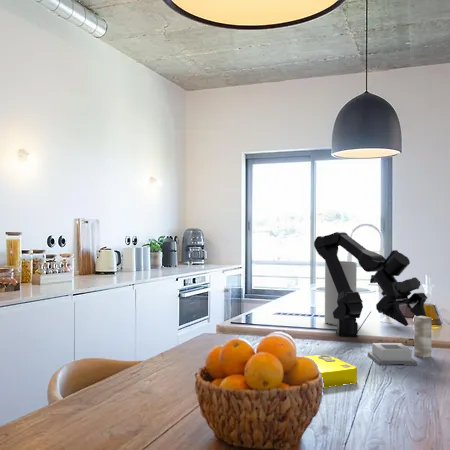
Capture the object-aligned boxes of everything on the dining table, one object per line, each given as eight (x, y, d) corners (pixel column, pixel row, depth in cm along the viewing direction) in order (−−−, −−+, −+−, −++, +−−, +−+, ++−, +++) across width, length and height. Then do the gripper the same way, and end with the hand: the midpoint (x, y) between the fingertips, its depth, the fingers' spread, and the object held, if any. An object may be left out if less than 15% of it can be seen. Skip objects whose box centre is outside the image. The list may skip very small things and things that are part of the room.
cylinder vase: (353, 320, 213) (354, 261, 213) (358, 326, 201) (358, 263, 201) (323, 320, 215) (323, 260, 214) (326, 325, 202) (326, 263, 202)
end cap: (378, 364, 147) (378, 351, 147) (367, 355, 158) (367, 342, 158) (416, 365, 147) (416, 351, 147) (402, 355, 158) (402, 342, 158)
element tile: (280, 374, 138) (280, 356, 138) (327, 369, 144) (327, 352, 144) (309, 391, 124) (309, 372, 124) (360, 384, 130) (360, 366, 130)
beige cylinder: (414, 355, 158) (414, 316, 158) (421, 353, 160) (422, 315, 160) (423, 357, 155) (424, 318, 155) (431, 356, 157) (431, 317, 157)
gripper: (383, 270, 159) (412, 310, 150) (422, 268, 169) (452, 305, 159) (364, 292, 166) (391, 332, 156) (403, 289, 175) (430, 326, 166)
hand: (417, 323), depth 159 cm, fingers open, 9 cm apart
